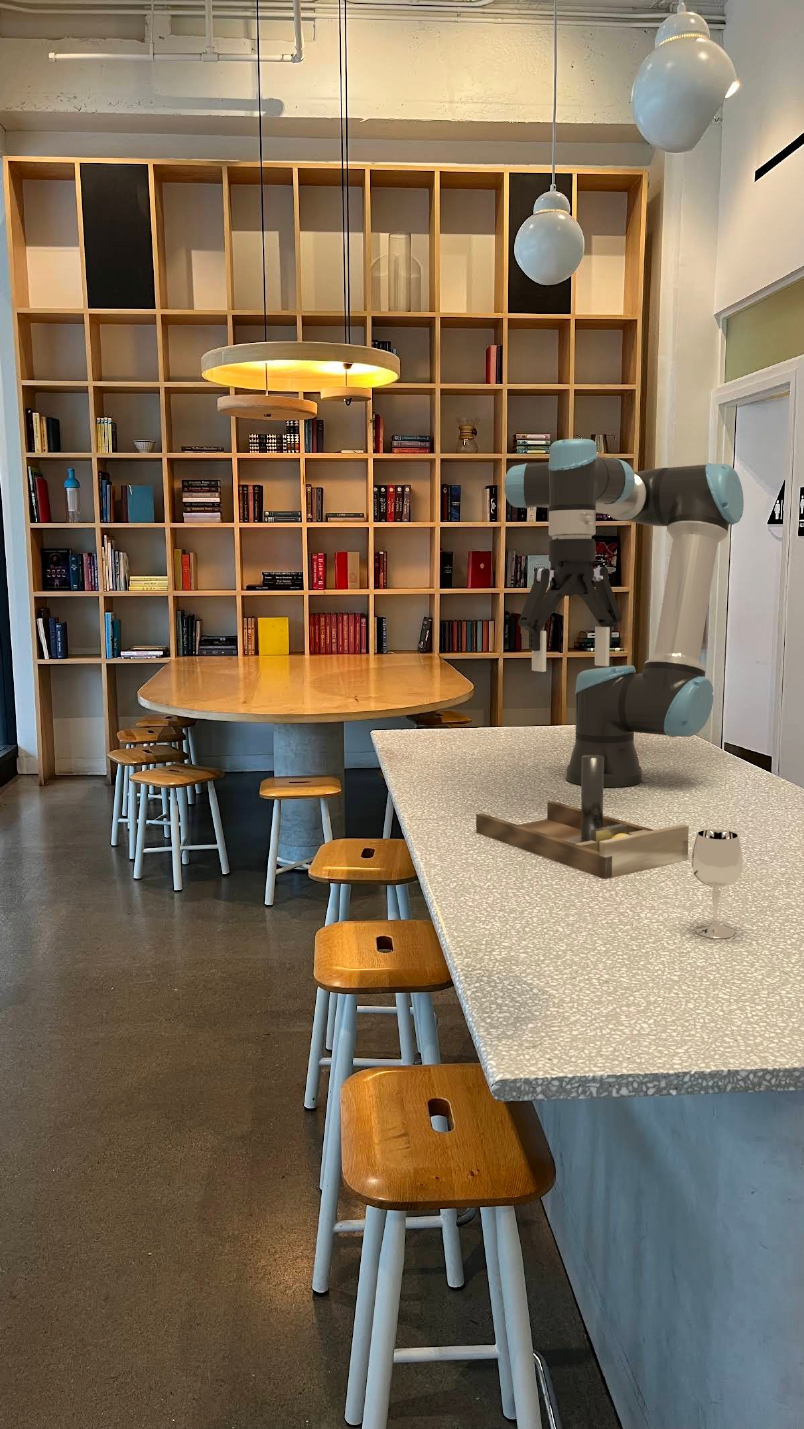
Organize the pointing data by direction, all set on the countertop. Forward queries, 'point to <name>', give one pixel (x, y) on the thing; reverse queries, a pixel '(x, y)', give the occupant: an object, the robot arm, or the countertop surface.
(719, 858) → the wineglass
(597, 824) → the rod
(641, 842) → the lane
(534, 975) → the countertop surface
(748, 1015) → the countertop surface
